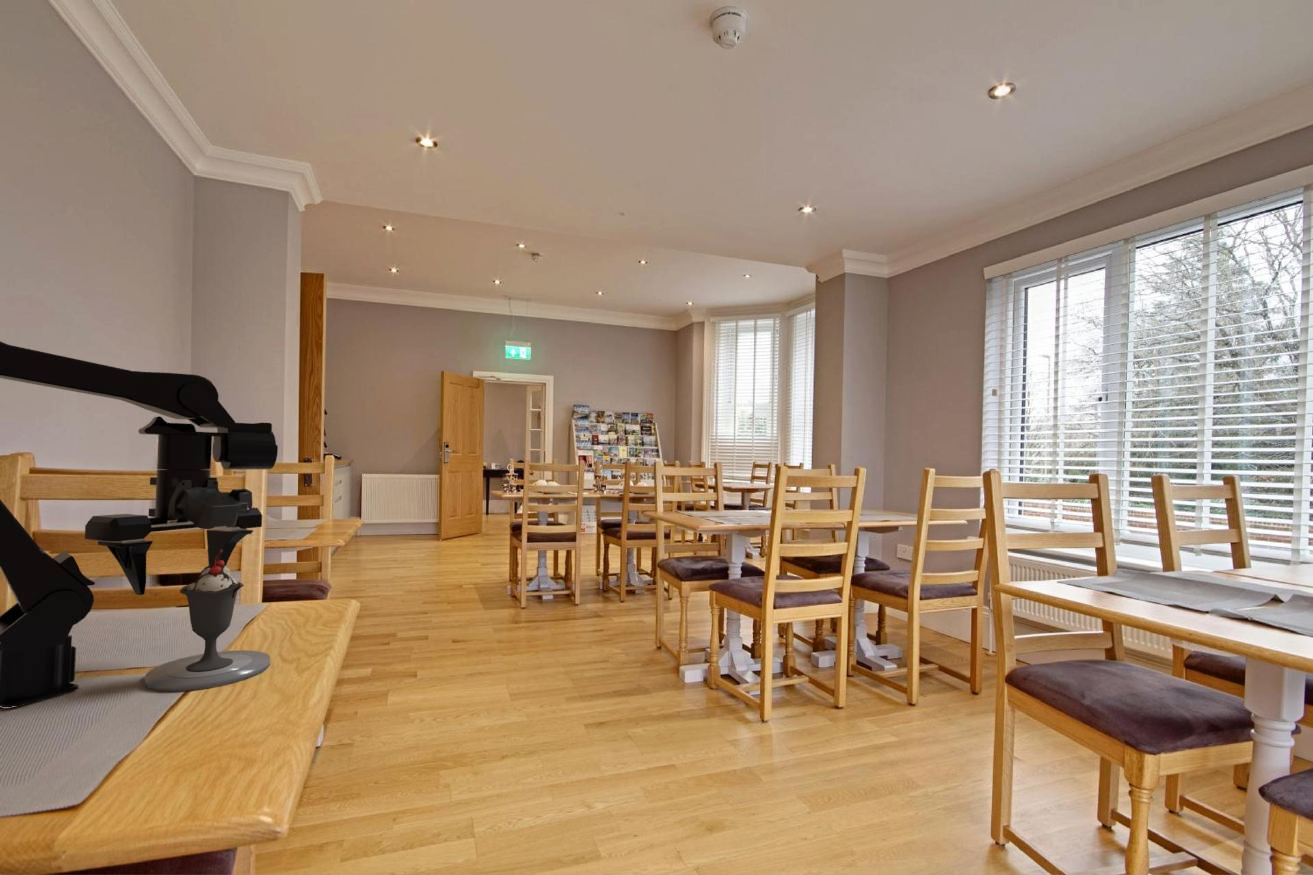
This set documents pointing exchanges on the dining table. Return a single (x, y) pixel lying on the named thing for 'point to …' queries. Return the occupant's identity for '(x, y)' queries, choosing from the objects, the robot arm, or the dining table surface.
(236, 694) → the dining table surface
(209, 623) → the sundae
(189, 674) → the slate plate
